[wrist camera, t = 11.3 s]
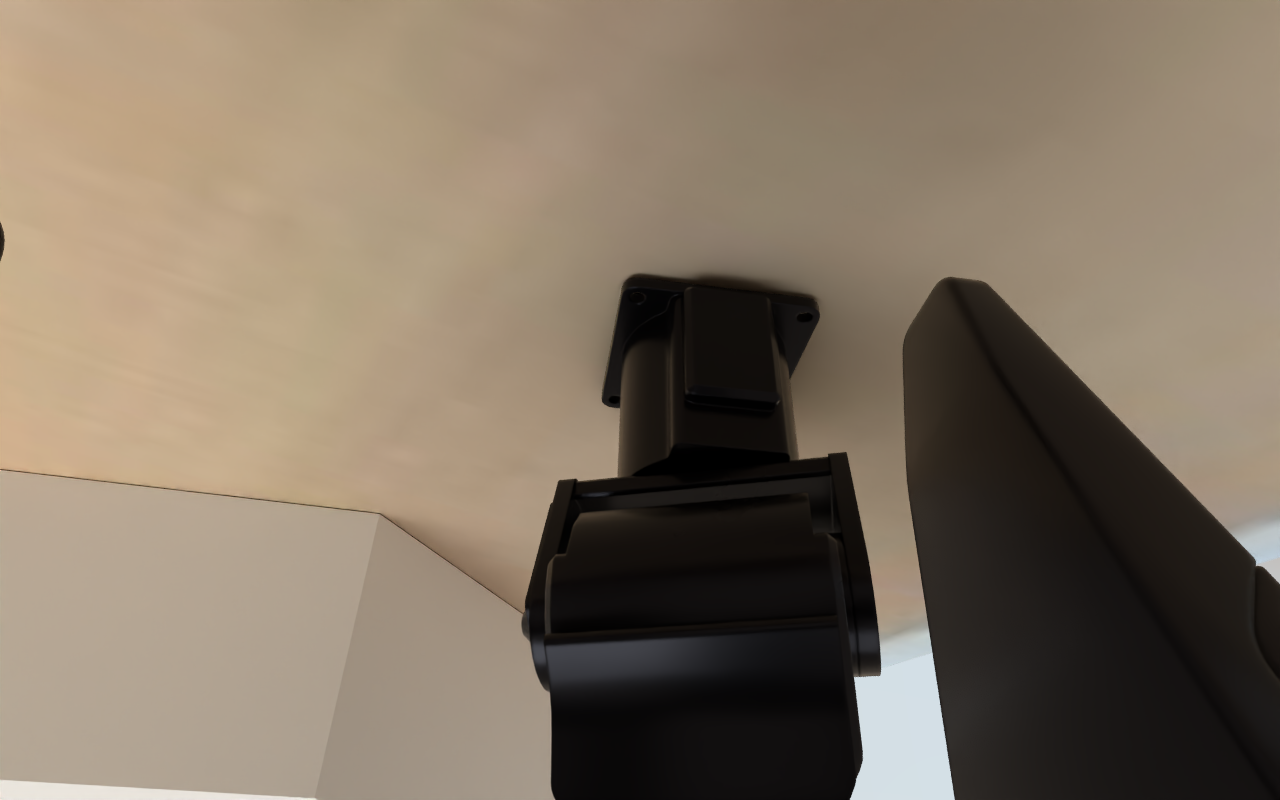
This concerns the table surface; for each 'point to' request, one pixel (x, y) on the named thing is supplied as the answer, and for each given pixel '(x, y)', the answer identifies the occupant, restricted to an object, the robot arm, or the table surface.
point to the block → (250, 655)
